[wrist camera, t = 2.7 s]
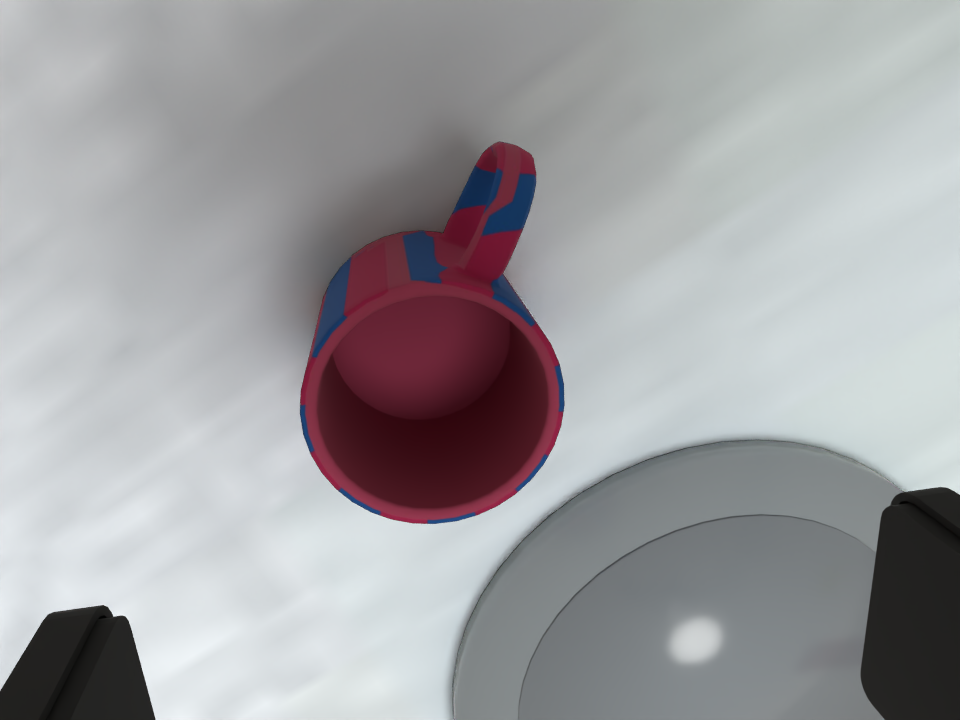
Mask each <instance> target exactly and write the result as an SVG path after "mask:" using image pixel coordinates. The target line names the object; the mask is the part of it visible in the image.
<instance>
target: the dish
mask: <svg viewBox="0 0 960 720" xmlns="http://www.w3.org/2000/svg"><path fill="white" fill-rule="evenodd" d="M902 492H903V491H902V490H900V489H899V488H898V487H897V486H895V485H894V484H893V483H891V482H890V481H889V480H887V479H886V478H885V477H883V476H882V475H881V474H879V473H877V472H876V471H874V470H872V469H870V468H868V467H866V466H865V465H863V464H861V463H859V462H857V461H856V460H854V459H851V458H848V457H845V456H842V455H840V454H837V453H834V452H831V451H829V450H826V449H822V448H817V447H812V446H808V445H803V444H798V443H793V442H780V441H766V440H748V441H731V442H719V443H714V444H708V445H703V446H697V447H692V448H686V449H682V450H679V451H676V452H672V453H669V454H666V455H662V456H659V457H656V458H653V459H649V460H647V461H644V462H642V463H640V464H637V465H635V466H633V467H630V468H628V469H626V470H623V471H621V472H619V473H617V474H614V475H612V476H610V477H609V478H607V479H605V480H603V481H602V482H600V483H598V484H596V485H595V486H593V487H591V488H589V489H588V490H586V491H584V492H582V493H581V494H579V495H578V496H576V497H575V498H574V499H572V500H571V501H570V502H568V503H567V504H565V505H564V506H563V507H561V508H560V509H559V510H557V511H556V512H554V513H553V514H552V515H550V516H549V517H548V518H547V519H546V520H545V521H544V522H543V523H541V524H540V525H539V526H538V527H537V528H536V529H535V530H534V531H533V532H532V533H531V534H530V535H529V536H527V537H526V538H525V539H524V540H523V541H522V542H521V543H520V544H519V546H518V547H517V548H516V549H515V550H514V552H513V553H512V554H511V555H510V556H509V557H508V559H507V560H506V561H505V562H504V563H503V565H502V566H501V567H500V568H499V569H498V571H497V572H496V574H495V576H494V577H493V579H492V580H491V582H490V583H489V585H488V586H487V588H486V589H485V591H484V592H483V594H482V595H481V597H480V599H479V601H478V603H477V605H476V607H475V609H474V612H473V614H472V616H471V618H470V620H469V622H468V624H467V626H466V629H465V633H464V636H463V639H462V642H461V646H460V649H459V652H458V655H457V661H456V668H455V674H454V681H453V714H454V720H885V719H884V718H883V717H882V716H881V715H880V713H879V712H878V711H877V710H876V709H875V708H874V706H873V705H872V704H871V702H870V701H869V700H868V698H867V696H866V694H865V692H864V689H863V686H862V682H861V677H860V675H861V663H862V656H863V648H864V641H865V633H866V625H867V618H868V610H869V603H870V595H871V588H872V580H873V573H874V565H875V558H876V550H877V542H878V535H879V527H880V520H881V515H882V512H883V511H884V509H885V508H886V507H888V506H890V505H891V501H892V500H893V498H894V497H895V496H896V495H898V494H900V493H902Z"/></svg>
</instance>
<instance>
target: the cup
mask: <svg viewBox="0 0 960 720" xmlns="http://www.w3.org/2000/svg"><path fill="white" fill-rule="evenodd" d="M535 186H536V170H535V165H534V159H533V157H532V155H531V154H530V153H528V152H527V151H525V150H523V149H522V148H520V147H518V146H516V145H513V144H508V143H504V142H497V143H495V144H493V145H492V146H490V147H489V148H488V149H487V150H486V151H485V152H484V153H483V154H482V155H481V157H480V158H479V160H478V162H477V163H476V165H475V167H474V169H473V171H472V173H471V175H470V177H469V179H468V181H467V183H466V185H465V187H464V189H463V191H462V194H461V196H460V198H459V200H458V202H457V204H456V206H455V208H454V211H453V213H452V215H451V217H450V218H449V220H448V223H447V225H446V228H445V230H444V233H440V232H431V231H409V232H400V233H397V234H393V235H389V236H385V237H383V238H381V239H378V240H376V241H374V242H372V243H370V244H368V245H366V246H365V247H363V248H362V249H361V250H359V251H358V252H356V253H355V254H353V255H352V256H351V257H350V258H349V259H348V260H347V261H346V262H345V263H344V264H343V265H342V266H341V267H340V269H339V270H338V272H337V273H336V274H335V276H334V277H333V279H332V280H331V282H330V284H329V286H328V288H327V291H326V293H325V295H324V297H323V301H322V305H321V309H320V313H319V317H318V321H317V325H316V330H315V334H314V338H313V342H312V346H311V350H310V354H309V358H308V363H307V367H306V371H305V375H304V380H303V384H302V388H301V398H300V417H301V423H302V429H303V435H304V438H305V440H306V443H307V446H308V448H309V451H310V454H311V456H312V457H313V459H314V461H315V462H316V464H317V466H318V467H319V469H320V471H321V472H322V474H323V475H324V476H325V477H326V478H327V479H328V480H329V482H330V483H331V484H332V485H333V486H334V487H335V488H336V489H337V490H338V491H339V492H341V493H342V494H343V495H344V496H346V497H347V498H348V499H349V500H351V501H352V502H353V503H355V504H357V505H359V506H361V507H363V508H364V509H366V510H368V511H370V512H372V513H375V514H378V515H380V516H383V517H386V518H389V519H392V520H398V521H403V522H409V523H421V524H437V523H445V522H453V521H459V520H462V519H466V518H469V517H473V516H476V515H479V514H481V513H483V512H485V511H488V510H490V509H492V508H494V507H496V506H498V505H500V504H501V503H503V502H504V501H506V500H507V499H509V498H510V497H512V496H513V495H515V494H516V493H517V492H518V491H519V490H520V489H522V488H523V487H524V486H525V485H526V484H527V483H528V482H529V481H530V480H531V479H532V478H533V477H534V476H535V474H536V473H537V472H538V471H539V469H540V468H541V467H542V466H543V464H544V463H545V461H546V459H547V457H548V456H549V454H550V452H551V450H552V449H553V447H554V445H555V442H556V439H557V436H558V433H559V430H560V427H561V423H562V417H563V411H564V383H563V378H562V373H561V369H560V364H559V362H558V359H557V357H556V355H555V352H554V350H553V348H552V345H551V343H550V342H549V340H548V339H547V337H546V336H545V334H544V333H543V331H542V330H541V329H540V327H539V326H538V324H537V323H536V321H535V320H534V318H533V317H532V315H531V314H530V312H529V311H528V310H527V308H526V307H525V305H524V304H523V302H522V301H521V299H520V298H519V296H518V295H517V294H516V292H515V291H514V289H513V288H512V286H511V285H510V283H509V282H508V280H507V279H506V278H505V276H504V275H503V272H504V270H505V268H506V266H507V264H508V262H509V260H510V258H511V256H512V254H513V251H514V249H515V247H516V245H517V242H518V240H519V237H520V235H521V233H522V230H523V228H524V225H525V222H526V219H527V217H528V214H529V211H530V207H531V204H532V200H533V197H534V192H535Z"/></svg>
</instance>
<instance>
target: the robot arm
mask: <svg viewBox="0 0 960 720" xmlns="http://www.w3.org/2000/svg"><path fill="white" fill-rule="evenodd" d="M860 677H861V682H862V686H863V689H864V692H865V694H866V696H867V698H868V700H869V701H870V702H871V704H872V705H873V706H874V708H875V709H876V710H877V711H878V712H879V713H880V715H881V716H882V717H883V718H884V719H885V720H960V495H959V494H957V493H956V492H954V491H952V490H950V489H948V488H943V487H938V488H931V489H923V490H916V491H909V492H902V493H900V494H898V495H896V496H895V497H894V498H893V500H892V501H891V505H890V506H888V507H886V508H885V509H884V511H883V512H882V515H881V520H880V527H879V535H878V542H877V550H876V558H875V565H874V573H873V580H872V588H871V595H870V603H869V610H868V618H867V625H866V633H865V641H864V648H863V656H862V663H861V675H860ZM0 720H155V716H154V712H153V708H152V705H151V701H150V697H149V694H148V690H147V686H146V682H145V679H144V675H143V671H142V668H141V664H140V660H139V656H138V653H137V649H136V645H135V642H134V638H133V634H132V630H131V627H130V624H129V621H128V620H127V618H126V617H125V616H116V617H113V615H112V612H111V611H110V610H109V608H108V607H106V606H104V605H101V606H94V607H87V608H80V609H73V610H66V611H58V612H53V613H51V614H48V615H47V617H46V618H45V619H44V620H43V622H42V623H41V625H40V627H39V628H38V630H37V632H36V633H35V635H34V636H33V638H32V640H31V641H30V643H29V645H28V646H27V648H26V650H25V651H24V653H23V655H22V656H21V658H20V659H19V661H18V663H17V664H16V666H15V668H14V669H13V671H12V673H11V674H10V676H9V678H8V679H7V681H6V682H5V684H4V686H3V687H2V689H1V691H0Z"/></svg>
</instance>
